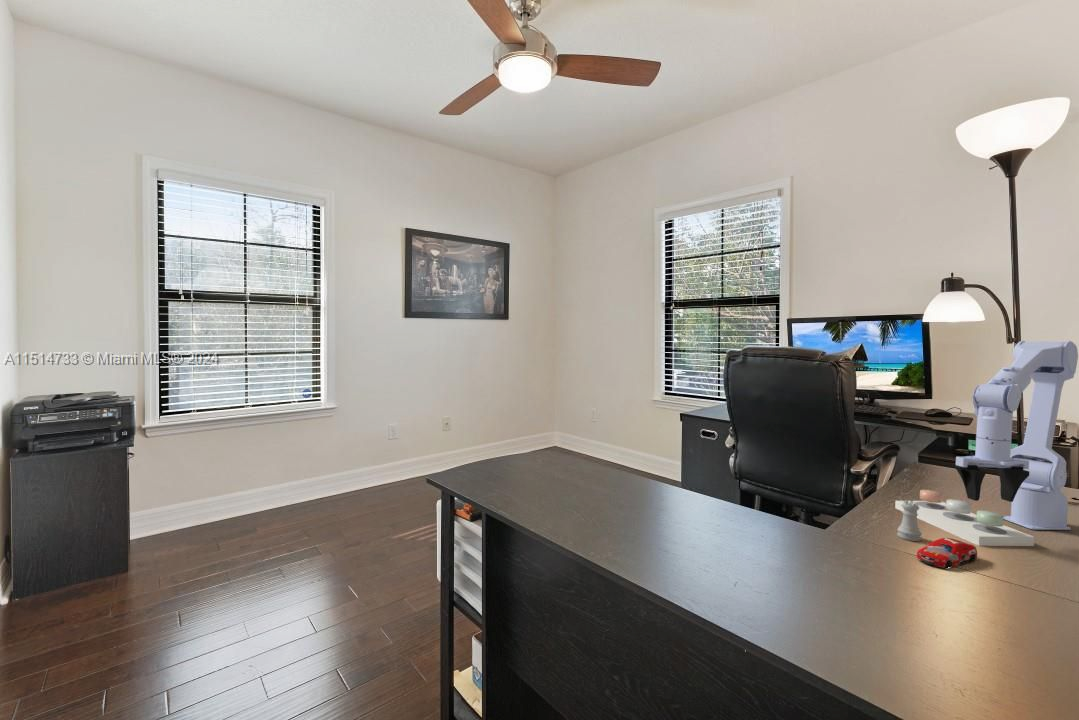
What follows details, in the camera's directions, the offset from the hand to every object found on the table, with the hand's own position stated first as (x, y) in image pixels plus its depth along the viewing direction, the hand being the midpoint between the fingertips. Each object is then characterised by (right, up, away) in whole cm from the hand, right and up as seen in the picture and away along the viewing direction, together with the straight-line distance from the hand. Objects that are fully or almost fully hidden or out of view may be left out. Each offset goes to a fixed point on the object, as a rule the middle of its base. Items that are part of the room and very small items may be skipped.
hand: (990, 499), depth 109 cm
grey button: (0, -5, +8) cm, 9 cm away
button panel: (0, -8, +8) cm, 12 cm away
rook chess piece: (-18, -9, 0) cm, 20 cm away
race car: (-19, -9, -11) cm, 24 cm away
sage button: (0, -5, 0) cm, 5 cm away
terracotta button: (0, -5, +16) cm, 17 cm away
